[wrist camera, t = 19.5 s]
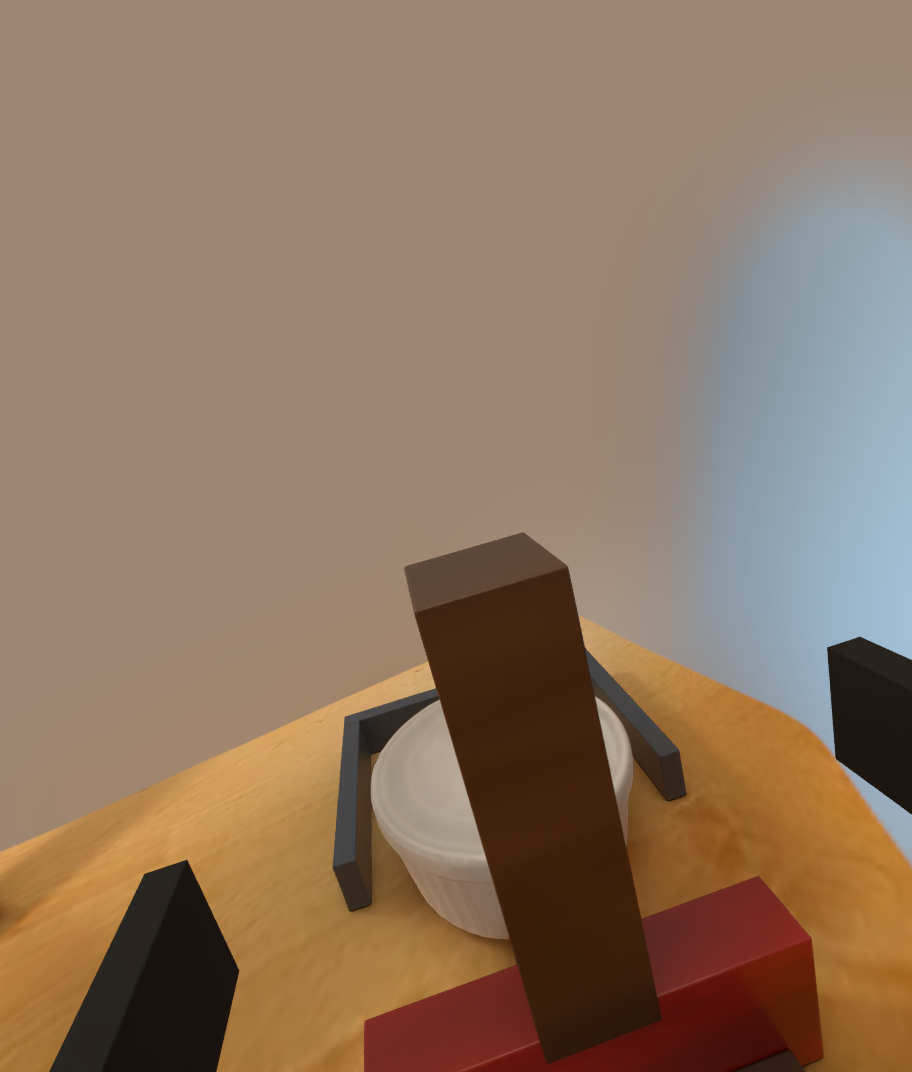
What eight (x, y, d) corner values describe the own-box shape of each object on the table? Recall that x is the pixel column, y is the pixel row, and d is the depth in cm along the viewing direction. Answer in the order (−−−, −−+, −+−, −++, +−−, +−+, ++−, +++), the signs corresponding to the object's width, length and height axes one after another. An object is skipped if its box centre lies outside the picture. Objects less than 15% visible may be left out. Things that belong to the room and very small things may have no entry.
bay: (687, 794, 25) (679, 749, 24) (349, 912, 23) (332, 867, 23) (587, 675, 36) (580, 642, 35) (355, 749, 35) (344, 716, 34)
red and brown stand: (981, 1279, 11) (984, 541, 7) (428, 1535, 10) (46, 839, 6) (751, 954, 18) (684, 479, 14) (405, 1087, 17) (217, 613, 13)
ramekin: (694, 950, 18) (672, 827, 17) (383, 999, 19) (340, 887, 18) (611, 743, 29) (594, 658, 28) (414, 781, 30) (389, 701, 29)
